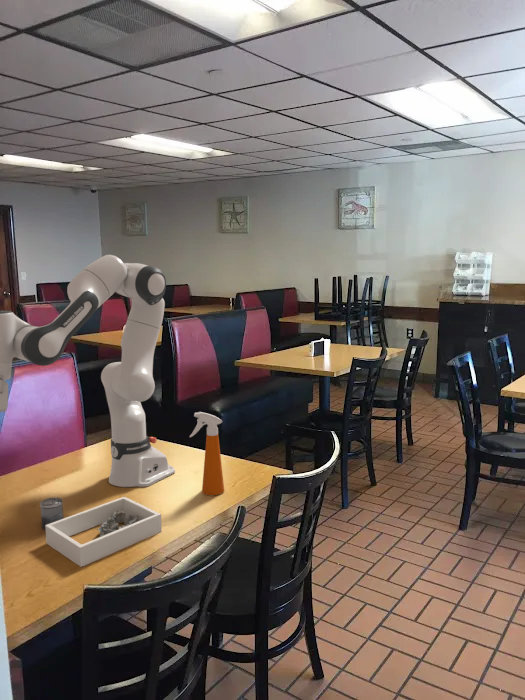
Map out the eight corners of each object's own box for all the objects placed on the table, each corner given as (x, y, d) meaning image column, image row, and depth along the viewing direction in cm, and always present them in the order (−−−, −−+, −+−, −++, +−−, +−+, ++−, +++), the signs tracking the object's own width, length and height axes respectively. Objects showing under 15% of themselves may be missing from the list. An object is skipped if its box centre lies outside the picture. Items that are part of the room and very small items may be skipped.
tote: (124, 512, 163) (124, 496, 162) (161, 531, 152) (161, 514, 151) (46, 543, 145) (45, 525, 145) (81, 567, 134) (80, 547, 133)
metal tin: (57, 519, 159) (56, 495, 158) (68, 525, 155) (66, 501, 154) (37, 526, 155) (36, 502, 154) (48, 532, 151) (46, 508, 150)
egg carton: (118, 521, 158) (118, 507, 158) (141, 526, 156) (141, 512, 155) (94, 538, 148) (94, 523, 148) (118, 543, 146) (118, 529, 145)
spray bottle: (188, 490, 179) (186, 410, 175) (220, 485, 183) (220, 407, 178) (193, 499, 172) (191, 416, 168) (227, 494, 176) (226, 412, 172)
